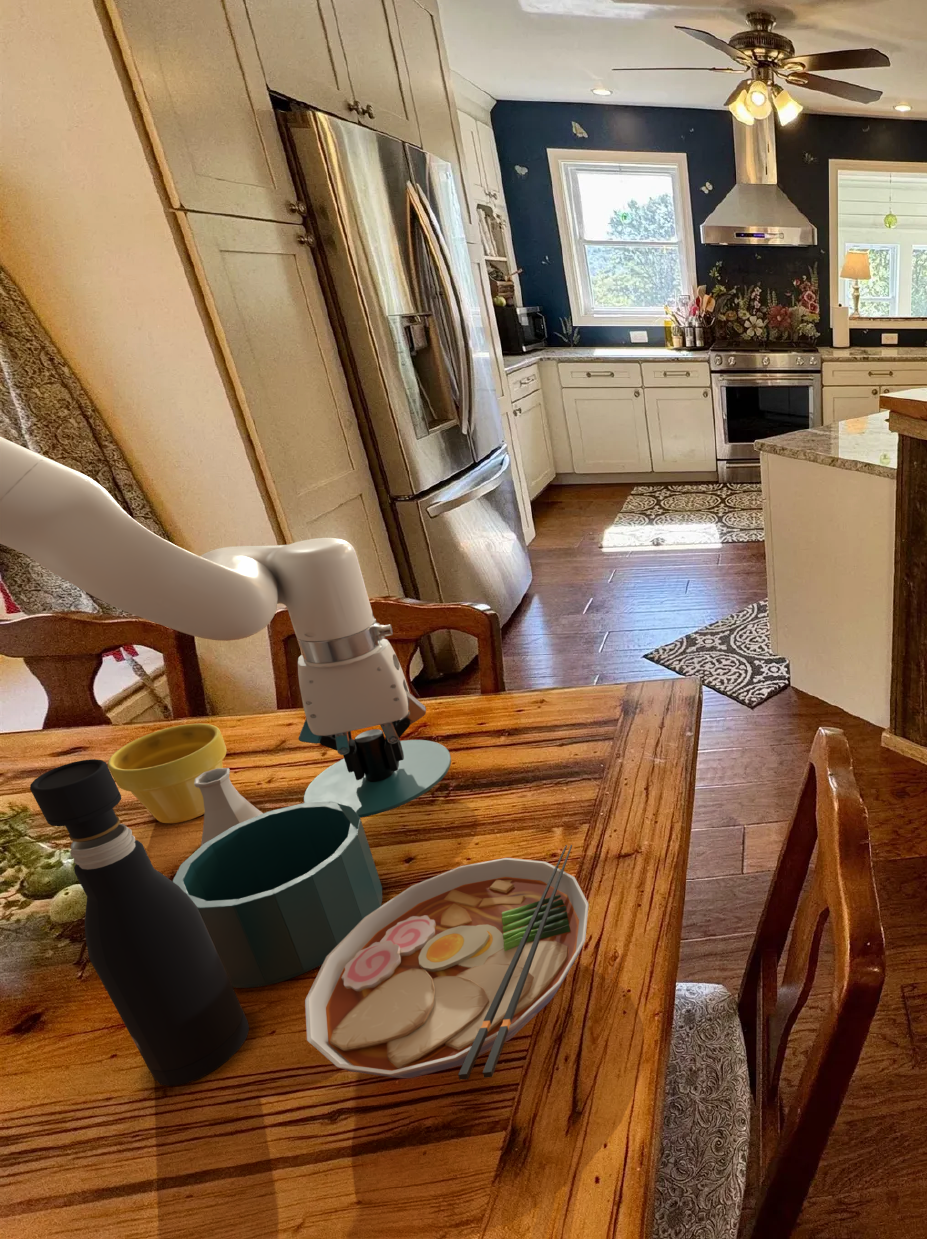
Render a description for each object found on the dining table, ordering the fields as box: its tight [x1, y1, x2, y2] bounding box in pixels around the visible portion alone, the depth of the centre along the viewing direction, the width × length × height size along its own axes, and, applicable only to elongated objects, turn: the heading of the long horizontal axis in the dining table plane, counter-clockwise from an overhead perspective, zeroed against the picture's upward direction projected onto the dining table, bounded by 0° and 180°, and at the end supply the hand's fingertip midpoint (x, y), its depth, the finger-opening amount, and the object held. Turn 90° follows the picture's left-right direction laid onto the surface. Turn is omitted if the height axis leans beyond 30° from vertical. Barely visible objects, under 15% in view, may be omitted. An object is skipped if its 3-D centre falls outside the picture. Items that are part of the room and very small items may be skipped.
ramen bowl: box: [304, 844, 589, 1081], centre depth 66 cm, size 25×23×8 cm
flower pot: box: [107, 723, 228, 824], centre depth 90 cm, size 10×10×10 cm
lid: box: [303, 728, 452, 819], centre depth 89 cm, size 16×16×7 cm
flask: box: [194, 767, 264, 847], centre depth 84 cm, size 7×7×10 cm
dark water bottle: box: [29, 758, 250, 1087], centre depth 57 cm, size 6×6×30 cm
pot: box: [172, 802, 383, 989], centre depth 73 cm, size 15×15×10 cm
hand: (378, 768), depth 89 cm, fingers closed on lid, 3 cm apart
